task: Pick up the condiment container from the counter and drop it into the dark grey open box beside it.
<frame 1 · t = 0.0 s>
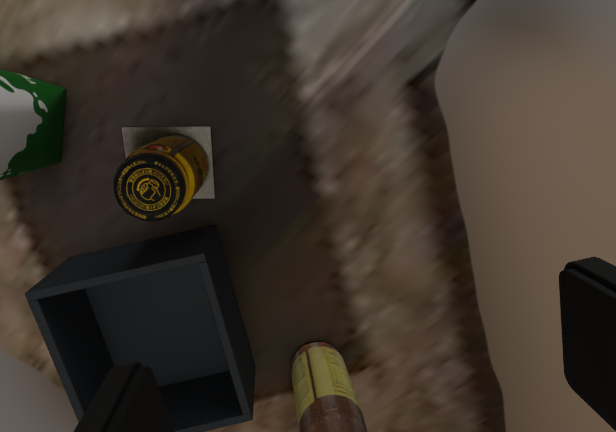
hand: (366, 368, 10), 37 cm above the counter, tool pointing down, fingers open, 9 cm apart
milk carton: (26, 119, 42), on the counter
condiment: (170, 163, 45), on the counter
sauce bottle: (317, 360, 52), on the counter
dark grey open box: (167, 314, 49), on the counter
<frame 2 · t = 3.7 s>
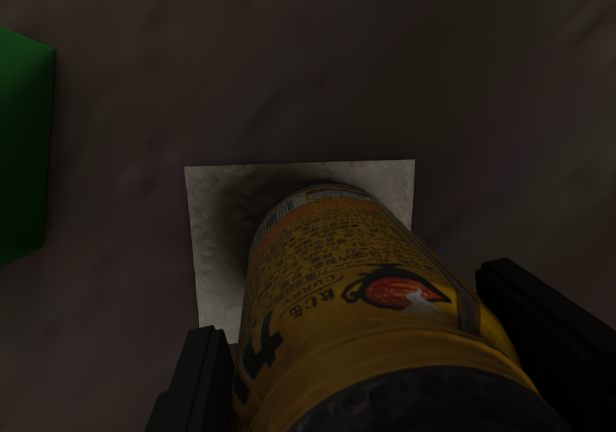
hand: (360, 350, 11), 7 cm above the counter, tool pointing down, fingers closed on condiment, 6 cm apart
condiment: (303, 252, 18), on the counter, touching gripper
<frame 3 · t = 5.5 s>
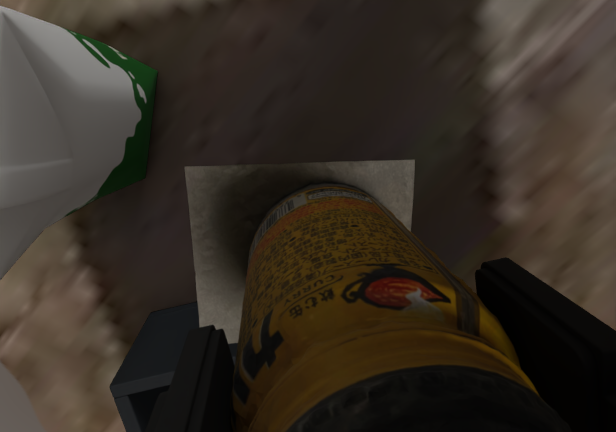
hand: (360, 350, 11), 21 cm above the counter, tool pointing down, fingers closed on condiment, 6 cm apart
milk carton: (98, 116, 29), on the counter
condiment: (303, 252, 18), point 14 cm above the counter, touching gripper
dark grey open box: (280, 388, 35), on the counter
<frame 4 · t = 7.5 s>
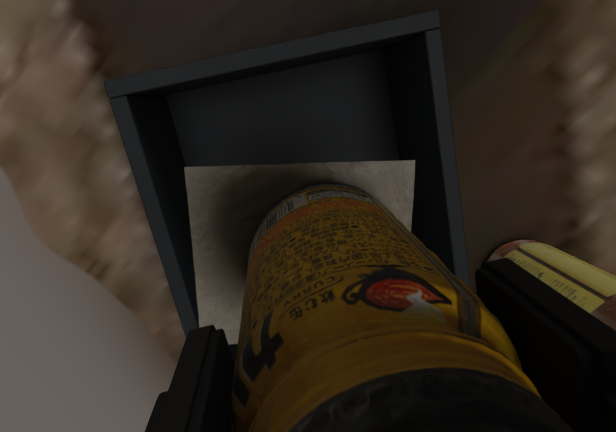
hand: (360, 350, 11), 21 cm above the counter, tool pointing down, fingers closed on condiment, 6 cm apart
condiment: (303, 253, 18), point 14 cm above the counter, touching gripper
sauce bottle: (516, 271, 34), on the counter
dark grey open box: (300, 190, 31), on the counter
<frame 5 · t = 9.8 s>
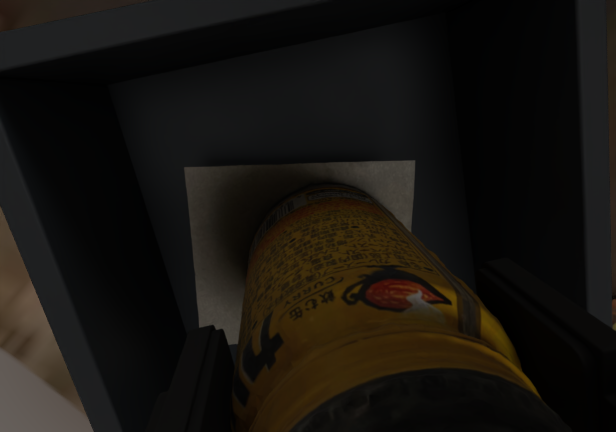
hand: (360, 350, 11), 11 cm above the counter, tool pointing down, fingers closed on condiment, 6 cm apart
condiment: (303, 253, 18), point 3 cm above the counter, touching gripper
dark grey open box: (315, 227, 21), on the counter
when the fingers open (8 cm above the counter, at t = 11.2 s): condiment stays where it is, resting on dark grey open box.
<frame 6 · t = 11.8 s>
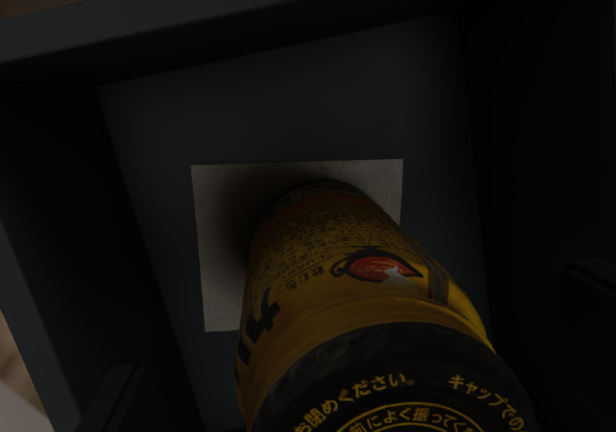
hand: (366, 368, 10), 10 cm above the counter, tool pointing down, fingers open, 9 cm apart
condiment: (300, 245, 19), point 1 cm above the counter, touching dark grey open box
dark grey open box: (317, 238, 20), on the counter
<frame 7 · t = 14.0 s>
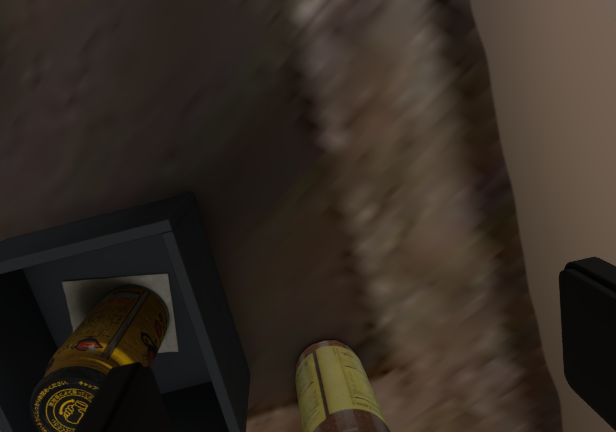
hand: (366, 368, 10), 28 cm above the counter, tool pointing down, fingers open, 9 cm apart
condiment: (123, 315, 38), point 1 cm above the counter, touching dark grey open box
sauce bottle: (328, 363, 41), on the counter
dark grey open box: (135, 310, 38), on the counter
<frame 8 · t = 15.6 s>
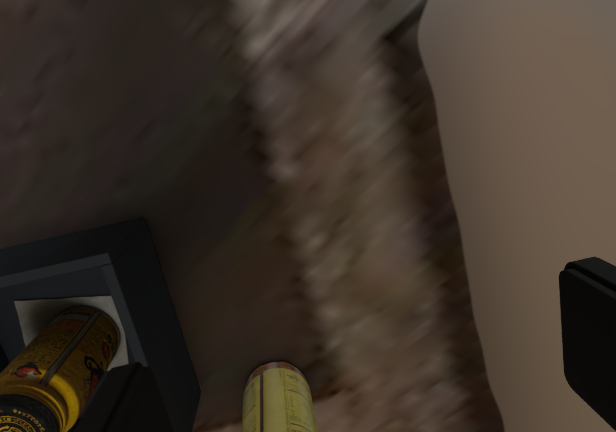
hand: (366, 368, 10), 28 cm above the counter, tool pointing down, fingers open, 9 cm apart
condiment: (76, 334, 39), point 1 cm above the counter, touching dark grey open box
sauce bottle: (278, 383, 43), on the counter
dark grey open box: (88, 329, 39), on the counter
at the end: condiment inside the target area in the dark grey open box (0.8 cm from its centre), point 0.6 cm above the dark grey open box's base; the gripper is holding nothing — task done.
